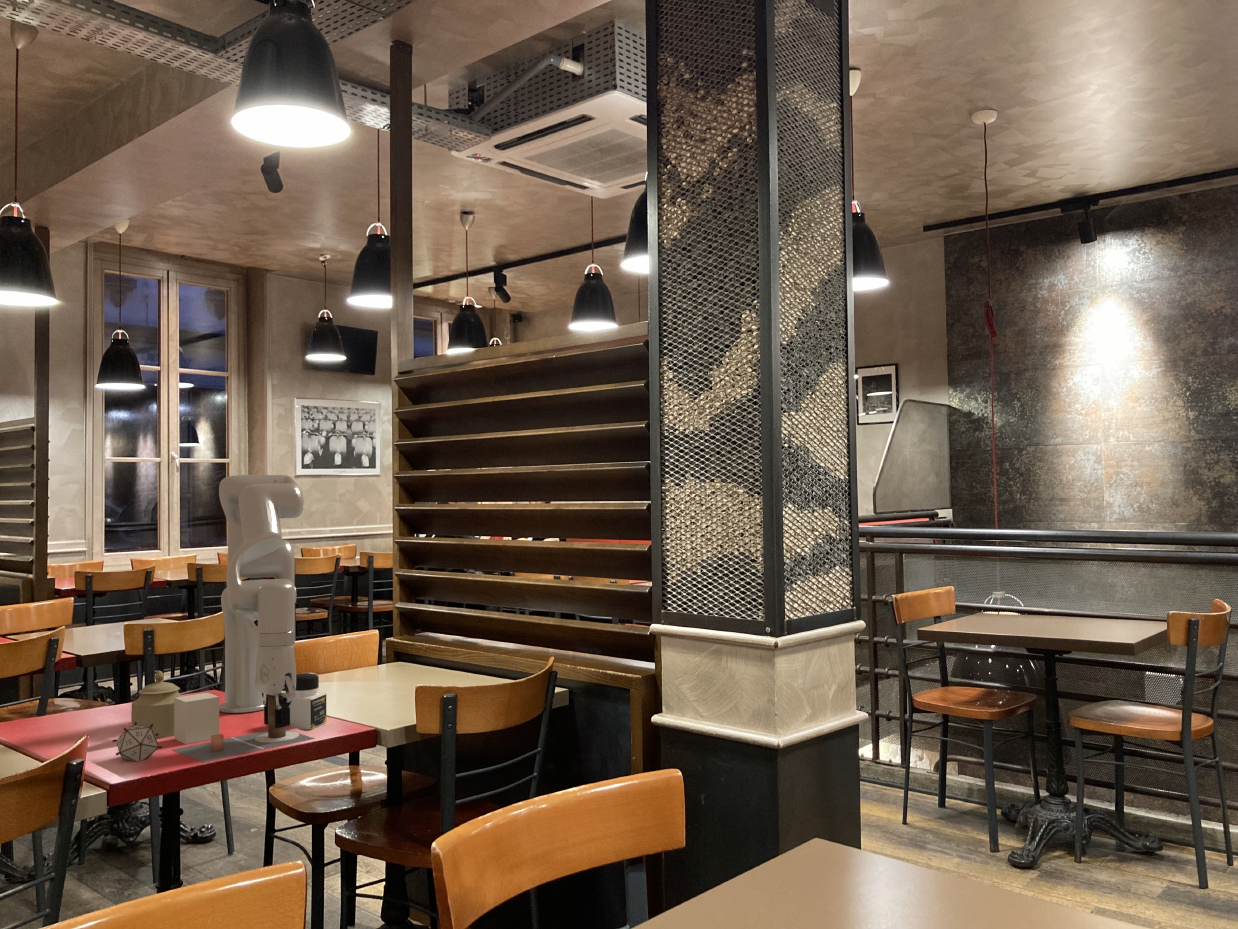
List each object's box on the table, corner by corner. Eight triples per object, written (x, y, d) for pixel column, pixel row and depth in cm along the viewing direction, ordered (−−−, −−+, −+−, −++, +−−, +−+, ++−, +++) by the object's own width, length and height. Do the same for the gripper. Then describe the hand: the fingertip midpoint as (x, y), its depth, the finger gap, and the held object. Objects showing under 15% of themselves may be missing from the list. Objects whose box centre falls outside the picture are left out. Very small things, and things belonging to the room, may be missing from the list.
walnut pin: (265, 736, 204) (264, 694, 205) (280, 733, 207) (280, 692, 207) (273, 739, 202) (272, 696, 202) (288, 736, 204) (288, 694, 205)
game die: (131, 781, 191) (127, 735, 196) (172, 764, 192) (167, 719, 197) (105, 770, 183) (101, 723, 189) (148, 753, 184) (143, 706, 190)
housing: (174, 744, 205) (185, 749, 201) (174, 697, 206) (185, 702, 201) (207, 738, 210) (219, 743, 205) (207, 692, 211) (219, 696, 206)
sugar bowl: (111, 739, 211) (111, 671, 212) (157, 728, 221) (157, 663, 221) (150, 747, 203) (150, 676, 204) (196, 735, 213) (196, 668, 213)
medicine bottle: (311, 730, 216) (311, 677, 216) (282, 729, 217) (282, 676, 218) (327, 723, 223) (326, 671, 223) (299, 722, 224) (299, 671, 225)
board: (171, 755, 196) (171, 735, 196) (281, 733, 213) (280, 714, 214) (202, 768, 186) (202, 747, 186) (315, 744, 203) (314, 724, 203)
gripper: (241, 638, 208) (242, 722, 207) (278, 645, 197) (279, 734, 196) (274, 634, 214) (274, 716, 213) (312, 641, 202) (312, 727, 202)
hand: (277, 724), depth 205 cm, fingers open, 4 cm apart
